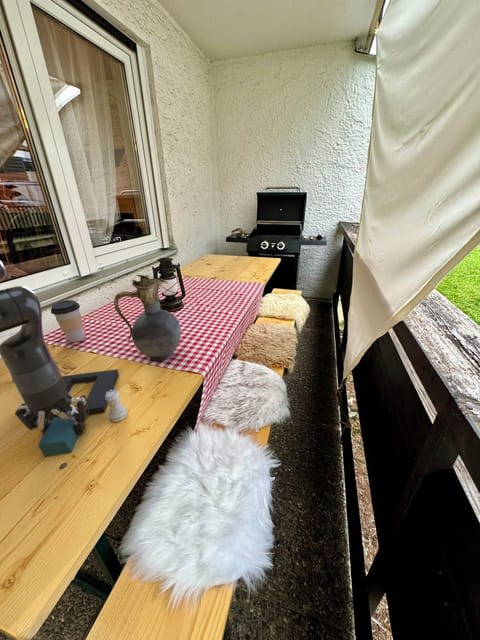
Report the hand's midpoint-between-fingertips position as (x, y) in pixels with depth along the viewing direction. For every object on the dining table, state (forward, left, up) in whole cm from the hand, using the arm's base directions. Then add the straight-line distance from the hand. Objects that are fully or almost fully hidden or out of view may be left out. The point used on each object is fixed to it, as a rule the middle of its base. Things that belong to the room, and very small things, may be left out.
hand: (66, 434), depth 62 cm
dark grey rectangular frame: (-2, +14, -1) cm, 14 cm away
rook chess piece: (+11, +4, -1) cm, 12 cm away
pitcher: (+18, +30, -1) cm, 35 cm away
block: (0, 0, -1) cm, 1 cm away
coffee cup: (-15, +49, -1) cm, 51 cm away
